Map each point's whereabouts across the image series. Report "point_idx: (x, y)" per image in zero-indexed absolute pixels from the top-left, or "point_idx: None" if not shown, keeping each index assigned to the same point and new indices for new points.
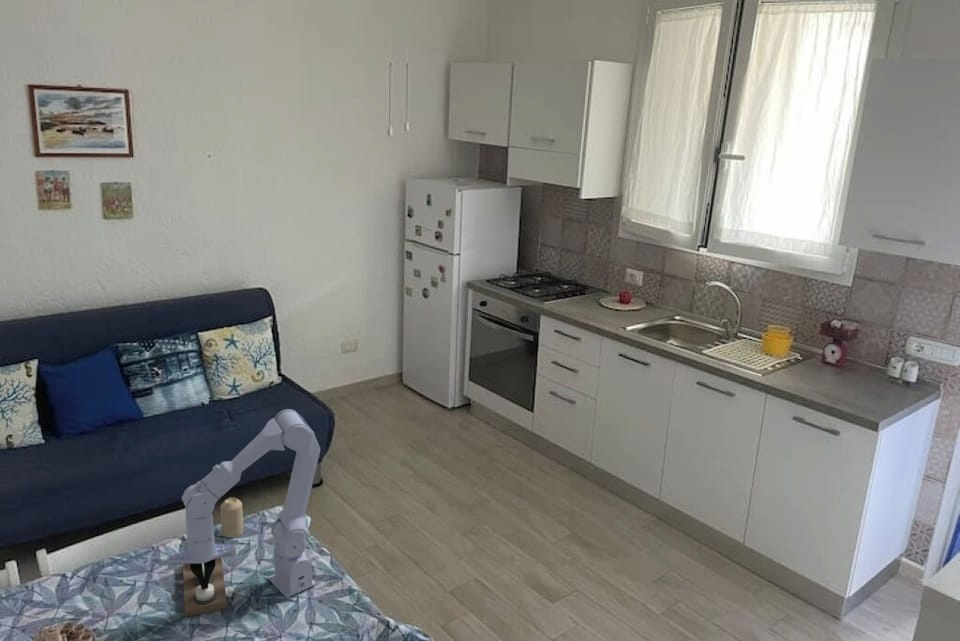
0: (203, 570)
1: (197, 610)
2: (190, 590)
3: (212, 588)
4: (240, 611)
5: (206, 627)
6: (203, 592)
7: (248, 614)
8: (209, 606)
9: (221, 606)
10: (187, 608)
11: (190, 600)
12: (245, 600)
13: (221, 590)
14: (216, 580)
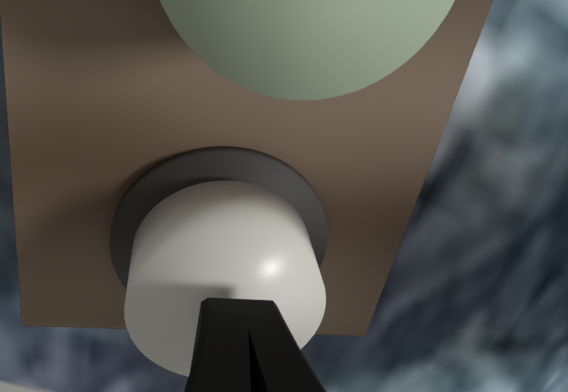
0: (299, 49)
1: None
2: (84, 74)
3: (303, 332)
4: (409, 333)
5: (179, 388)
6: None
7: (435, 366)
8: None
9: None
10: (46, 314)
11: (77, 228)
12: (485, 255)
13: (381, 203)
14: None
